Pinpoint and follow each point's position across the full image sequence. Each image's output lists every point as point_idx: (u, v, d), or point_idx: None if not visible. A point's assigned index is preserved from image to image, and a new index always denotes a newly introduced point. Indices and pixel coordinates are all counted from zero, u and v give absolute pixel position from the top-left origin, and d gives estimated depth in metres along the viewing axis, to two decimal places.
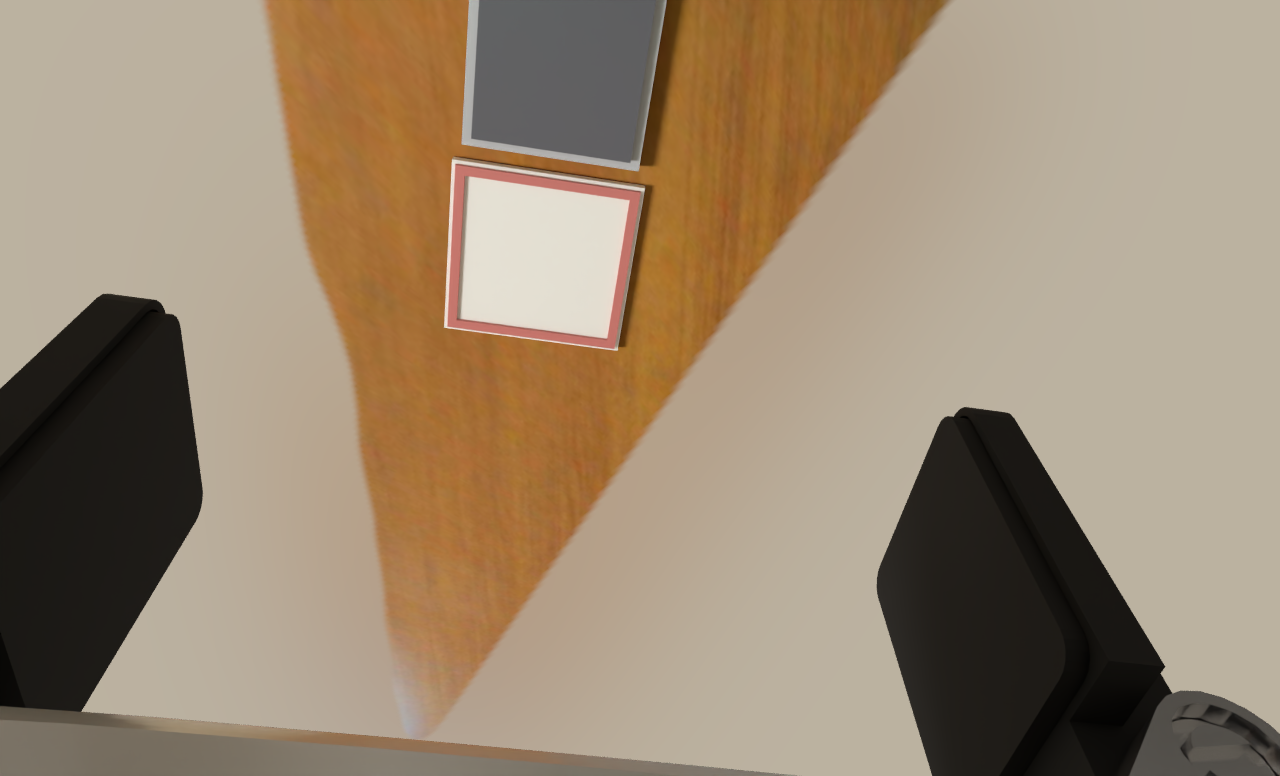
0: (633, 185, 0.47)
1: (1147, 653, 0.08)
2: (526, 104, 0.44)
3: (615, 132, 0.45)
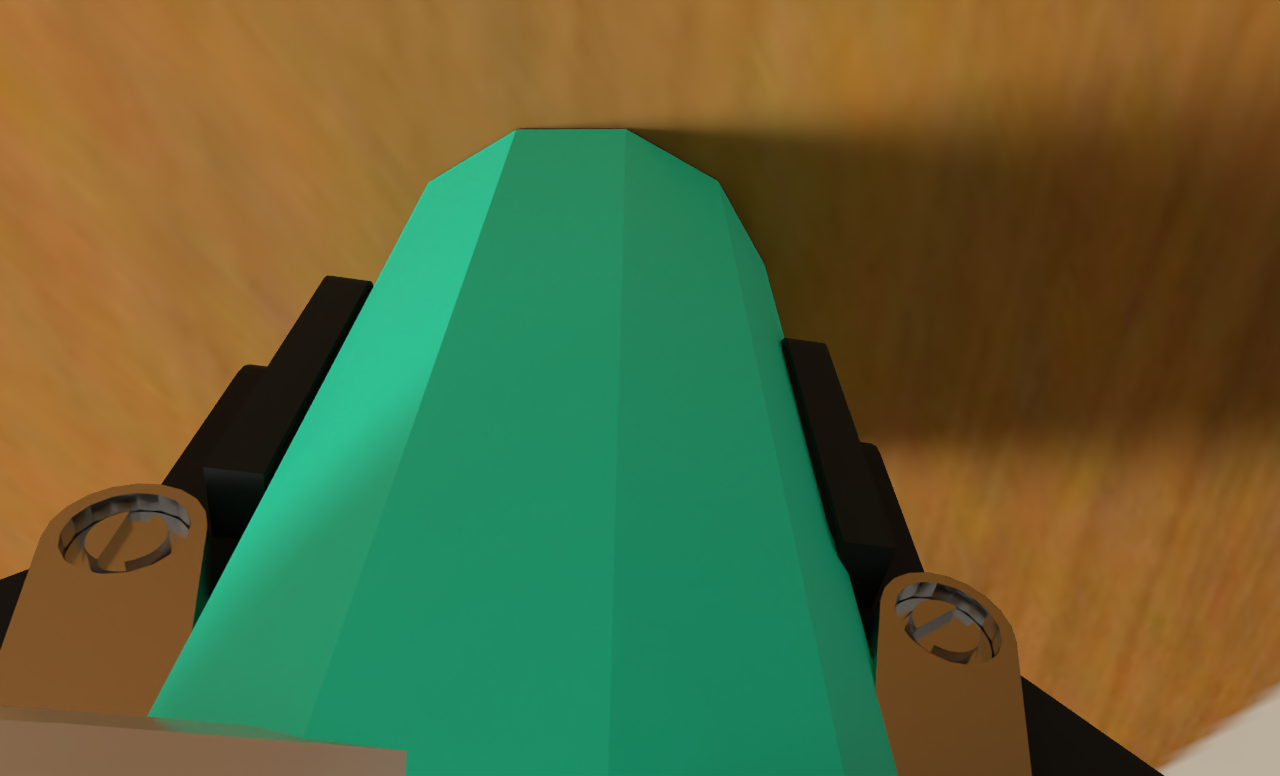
0: None
1: (884, 537, 0.08)
2: None
3: None
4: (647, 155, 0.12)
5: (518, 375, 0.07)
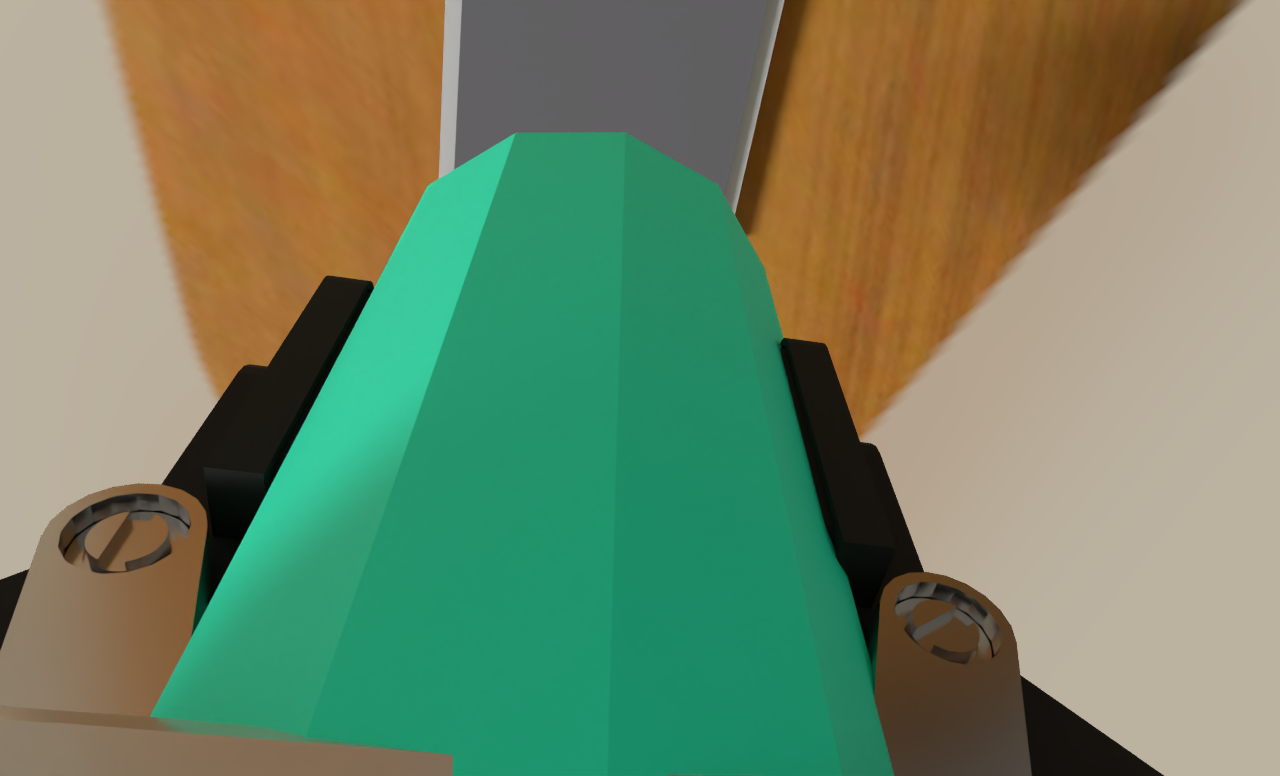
0: None
1: (884, 537, 0.08)
2: None
3: None
4: (646, 159, 0.12)
5: (518, 381, 0.07)
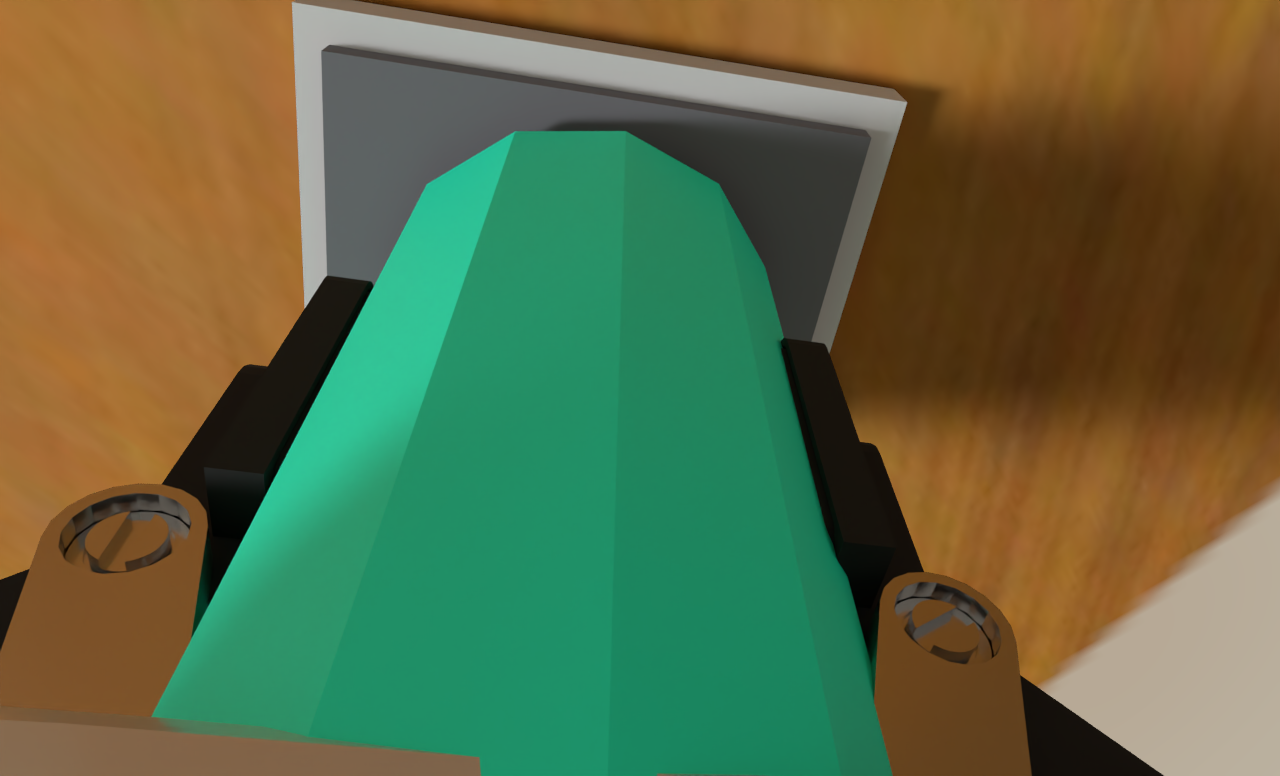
0: None
1: (884, 537, 0.08)
2: None
3: None
4: (646, 158, 0.12)
5: (518, 386, 0.07)
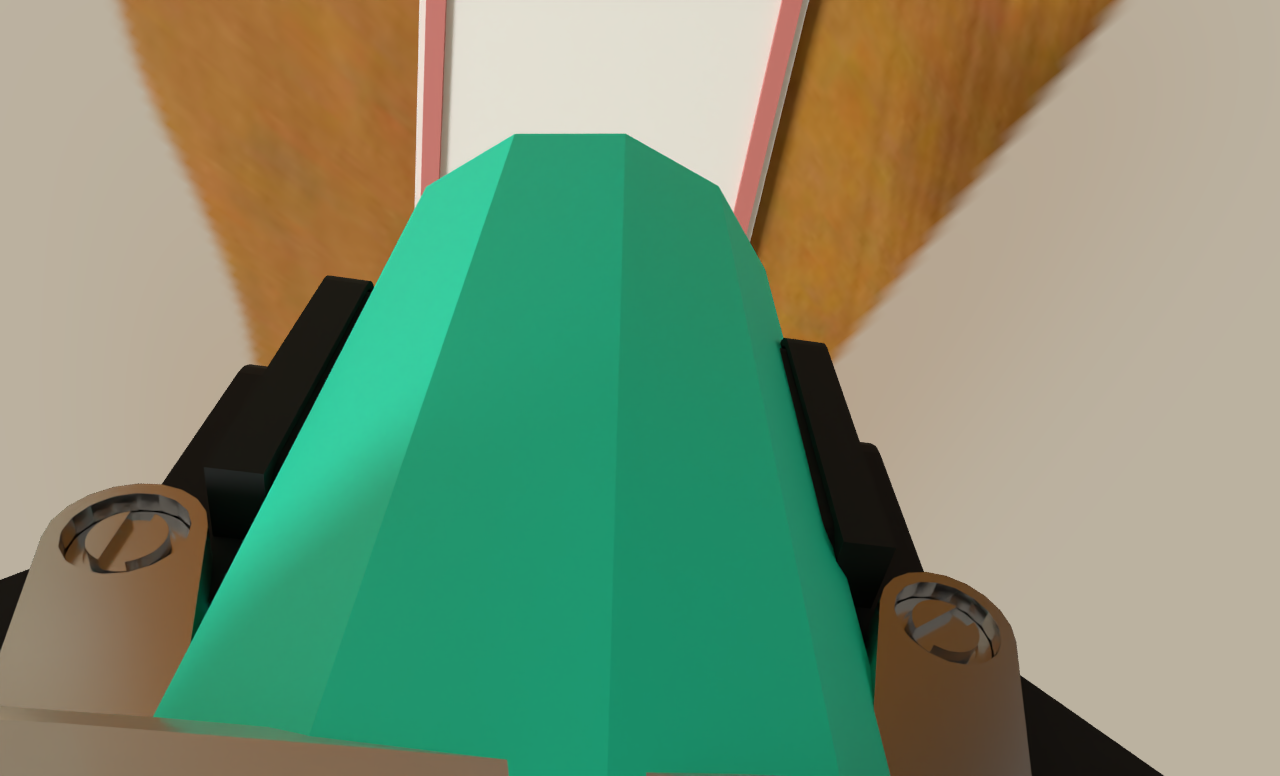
0: None
1: (884, 537, 0.08)
2: None
3: None
4: (646, 161, 0.12)
5: (516, 392, 0.07)
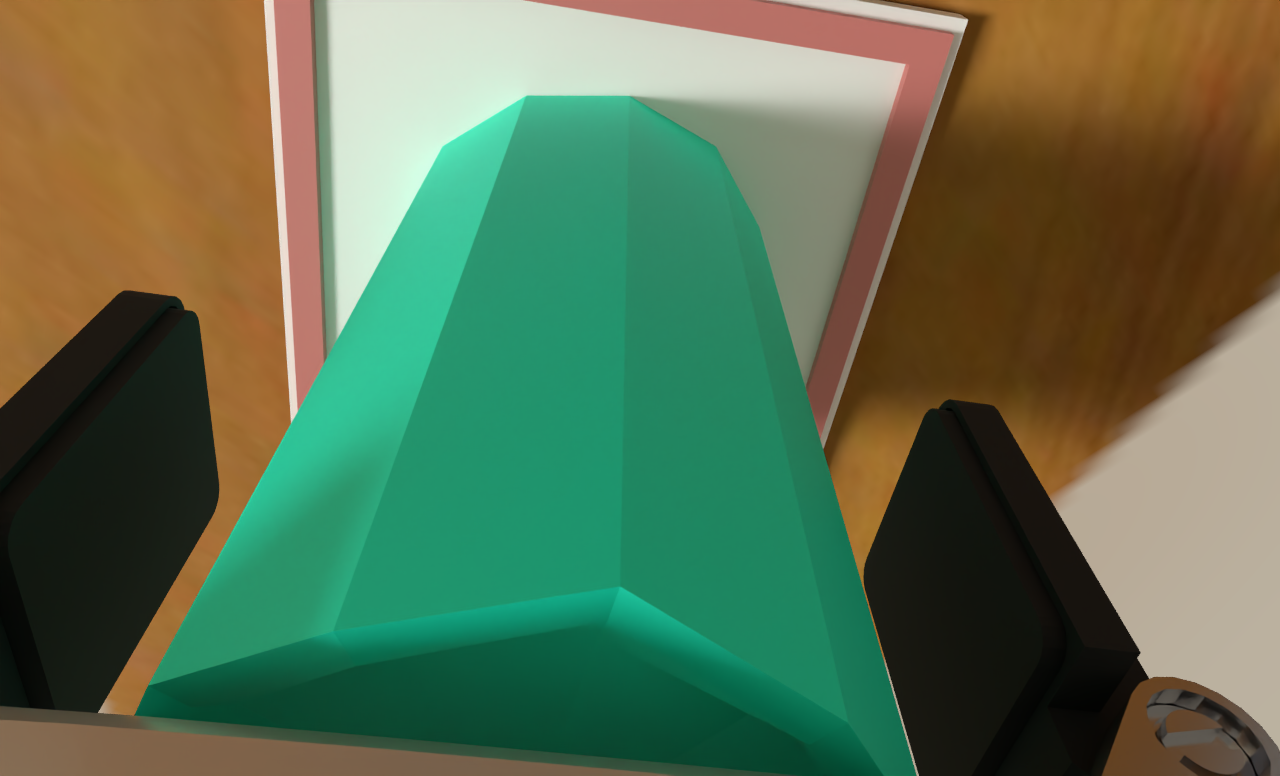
0: (924, 10, 0.13)
1: (1123, 639, 0.08)
2: None
3: None
4: (648, 120, 0.13)
5: (535, 294, 0.08)
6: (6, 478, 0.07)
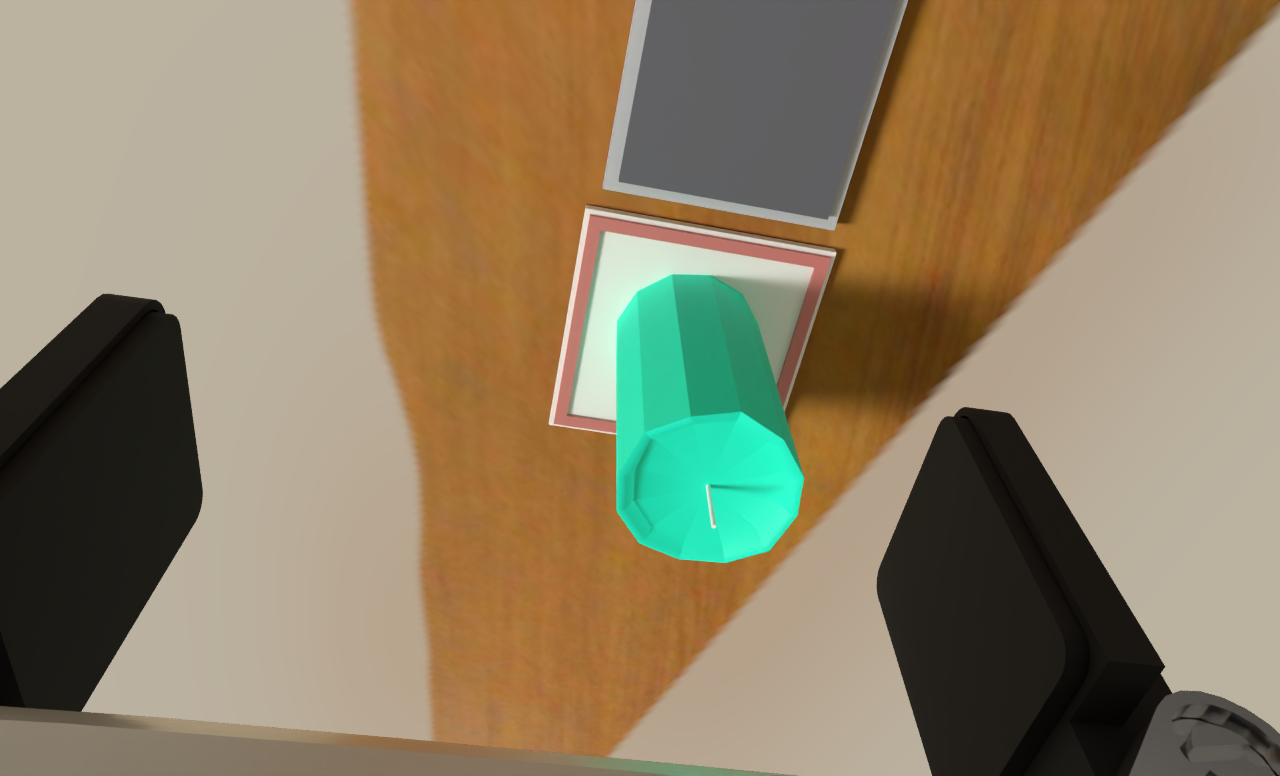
0: (821, 248, 0.36)
1: (1147, 653, 0.08)
2: (699, 138, 0.32)
3: (814, 178, 0.33)
4: (719, 286, 0.36)
5: (703, 353, 0.30)
6: None
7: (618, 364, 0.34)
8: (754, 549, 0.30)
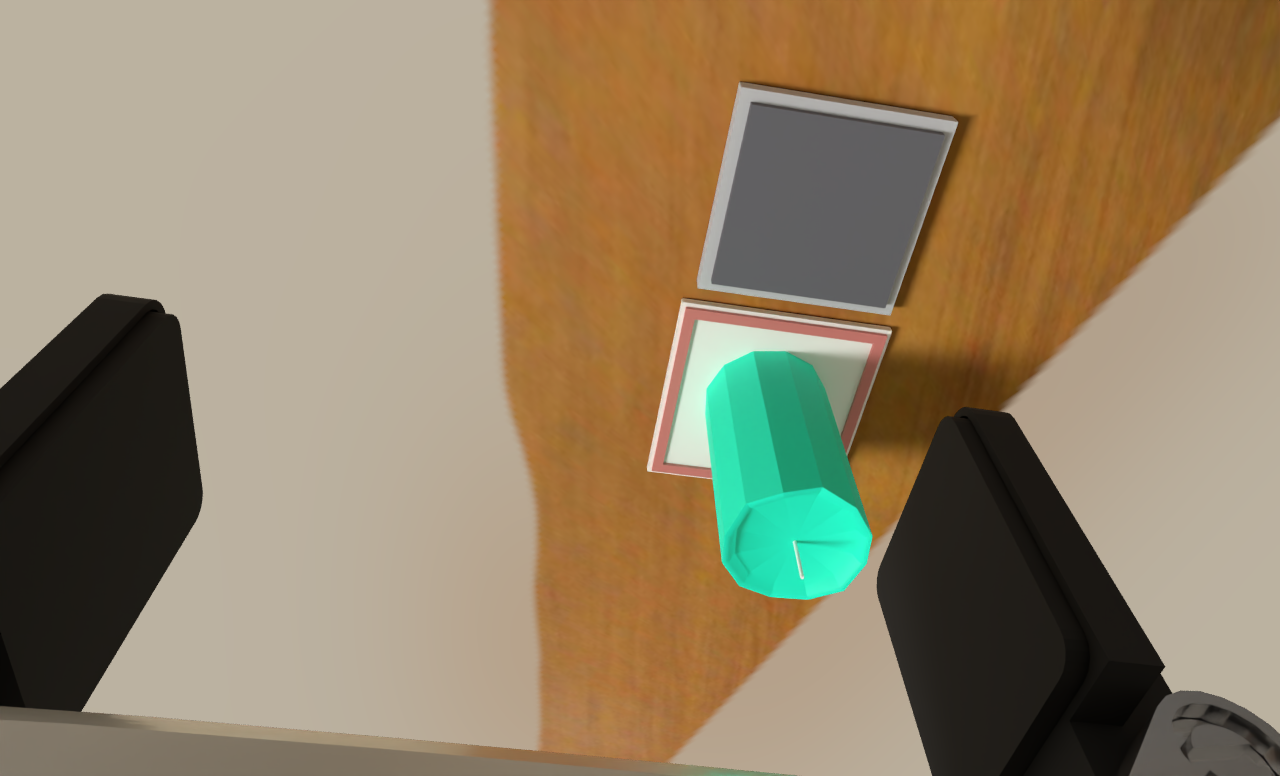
0: (878, 327, 0.43)
1: (1147, 653, 0.08)
2: (779, 248, 0.39)
3: (873, 277, 0.40)
4: (793, 361, 0.43)
5: (787, 431, 0.38)
6: None
7: (713, 432, 0.41)
8: (831, 590, 0.37)
